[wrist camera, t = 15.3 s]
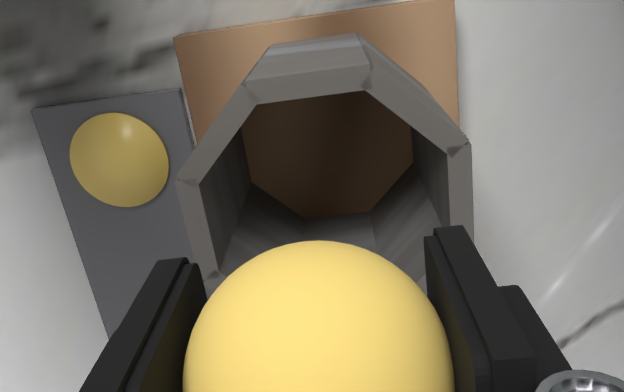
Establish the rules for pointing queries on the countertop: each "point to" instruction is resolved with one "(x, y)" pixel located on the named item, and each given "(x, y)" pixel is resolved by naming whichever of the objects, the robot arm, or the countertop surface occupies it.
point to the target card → (120, 187)
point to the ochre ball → (318, 327)
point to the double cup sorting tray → (325, 135)
